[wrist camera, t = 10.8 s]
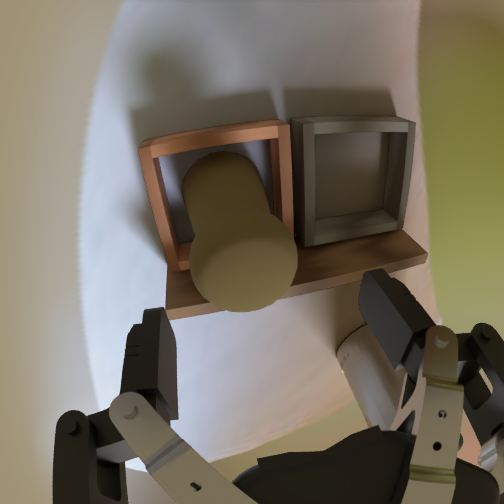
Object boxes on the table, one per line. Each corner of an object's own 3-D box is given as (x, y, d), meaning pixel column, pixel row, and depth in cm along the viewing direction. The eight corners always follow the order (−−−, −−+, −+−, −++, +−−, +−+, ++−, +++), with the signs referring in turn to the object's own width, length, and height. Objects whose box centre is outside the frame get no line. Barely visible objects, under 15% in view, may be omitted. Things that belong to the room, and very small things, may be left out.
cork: (276, 197, 23) (334, 287, 14) (213, 239, 24) (232, 346, 15) (234, 135, 20) (275, 191, 11) (165, 183, 21) (150, 276, 12)
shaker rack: (401, 116, 21) (449, 134, 16) (389, 228, 27) (425, 262, 22) (137, 142, 19) (119, 167, 14) (170, 269, 25) (169, 320, 20)
